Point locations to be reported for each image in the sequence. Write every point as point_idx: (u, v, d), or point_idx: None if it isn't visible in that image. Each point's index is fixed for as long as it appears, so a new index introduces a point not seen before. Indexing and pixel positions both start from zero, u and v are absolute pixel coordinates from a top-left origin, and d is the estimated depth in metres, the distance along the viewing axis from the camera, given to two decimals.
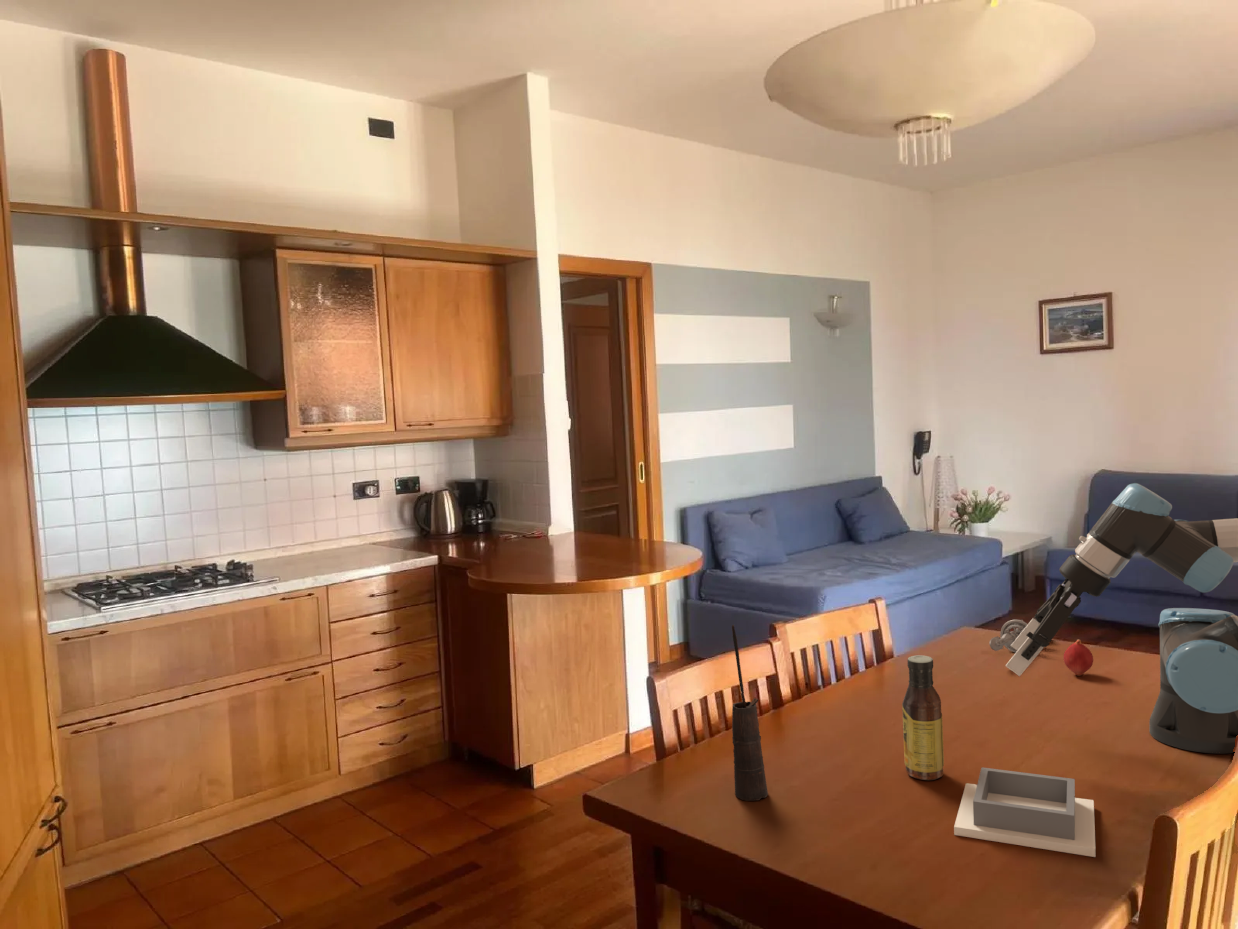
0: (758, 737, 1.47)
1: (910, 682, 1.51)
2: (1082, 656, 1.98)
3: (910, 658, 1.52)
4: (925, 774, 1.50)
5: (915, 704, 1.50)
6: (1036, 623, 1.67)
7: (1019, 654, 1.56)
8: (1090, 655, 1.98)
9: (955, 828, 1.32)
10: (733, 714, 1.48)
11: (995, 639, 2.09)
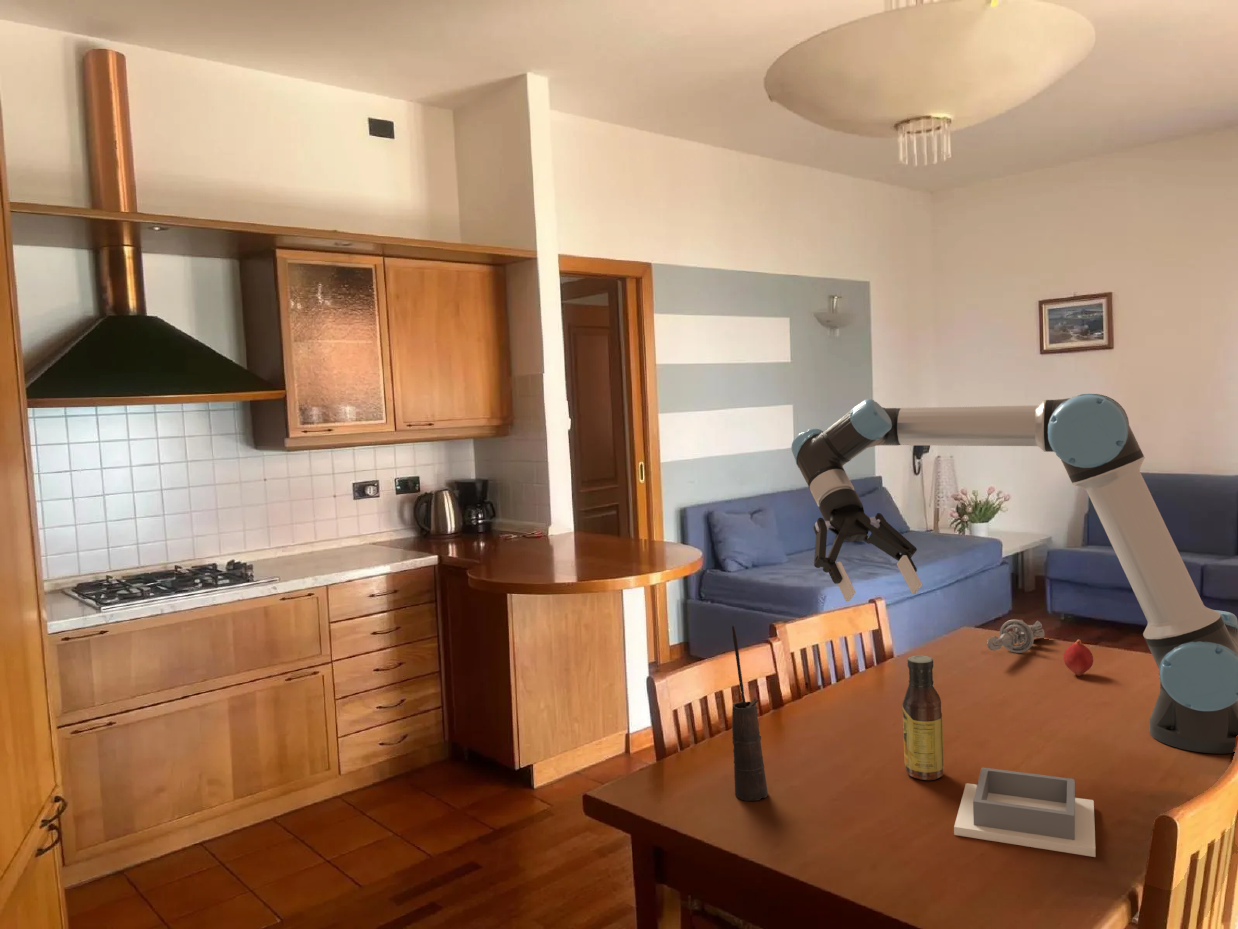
0: (758, 737, 1.47)
1: (910, 682, 1.51)
2: (1082, 656, 1.98)
3: (910, 658, 1.52)
4: (925, 774, 1.50)
5: (915, 704, 1.50)
6: (899, 562, 1.67)
7: (840, 585, 1.61)
8: (1090, 655, 1.98)
9: (955, 828, 1.32)
10: (733, 714, 1.48)
11: (993, 639, 2.09)
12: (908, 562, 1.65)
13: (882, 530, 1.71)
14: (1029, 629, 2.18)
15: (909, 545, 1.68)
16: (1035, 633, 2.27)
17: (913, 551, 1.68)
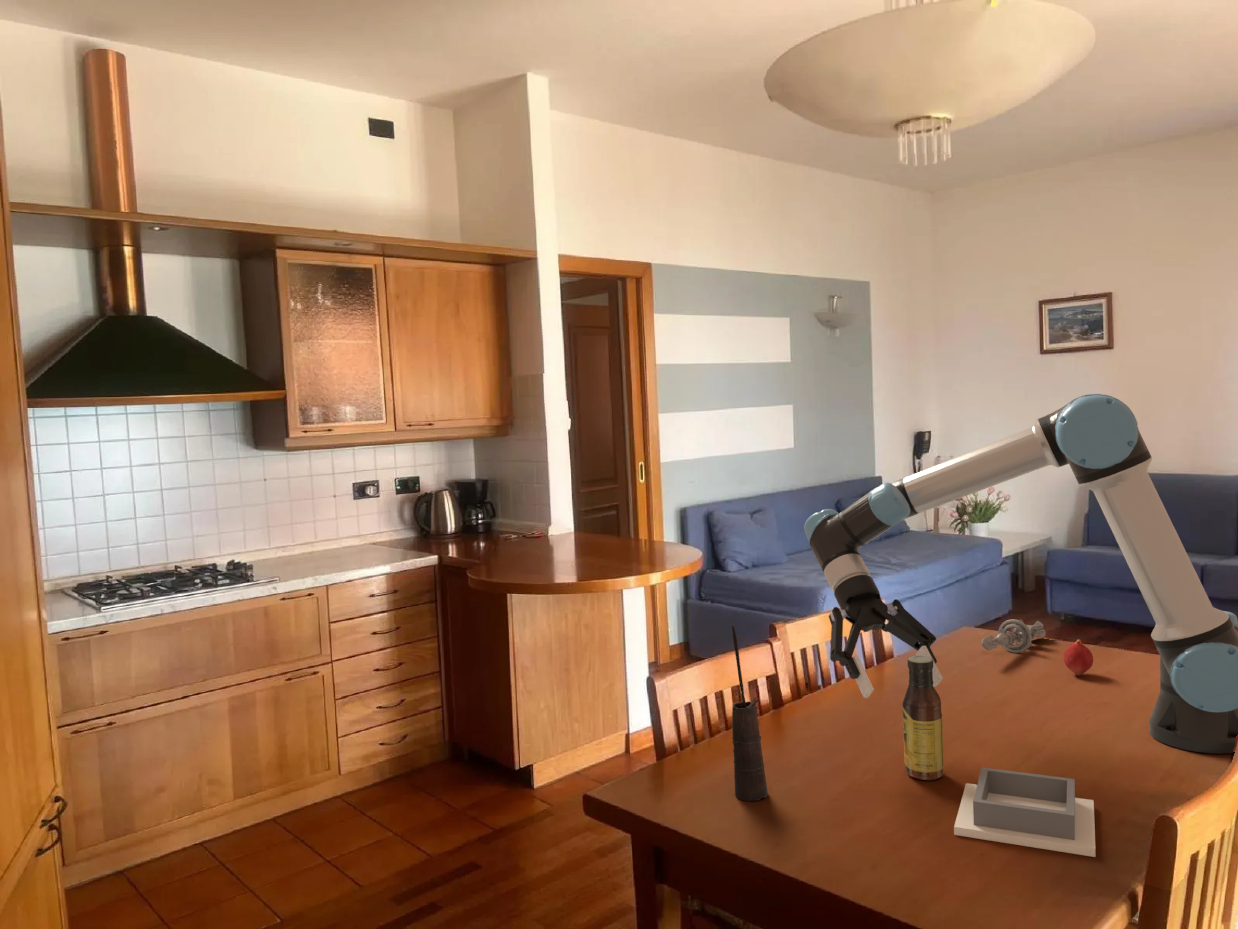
0: (758, 737, 1.47)
1: (910, 682, 1.51)
2: (1082, 656, 1.98)
3: (910, 658, 1.52)
4: (925, 774, 1.50)
5: (915, 704, 1.50)
6: (918, 652, 1.62)
7: (857, 680, 1.56)
8: (1090, 655, 1.98)
9: (955, 828, 1.32)
10: (733, 714, 1.48)
11: (988, 638, 2.10)
12: (927, 653, 1.60)
13: (900, 617, 1.66)
14: (1027, 629, 2.18)
15: (928, 634, 1.63)
16: (1035, 633, 2.27)
17: (932, 640, 1.62)
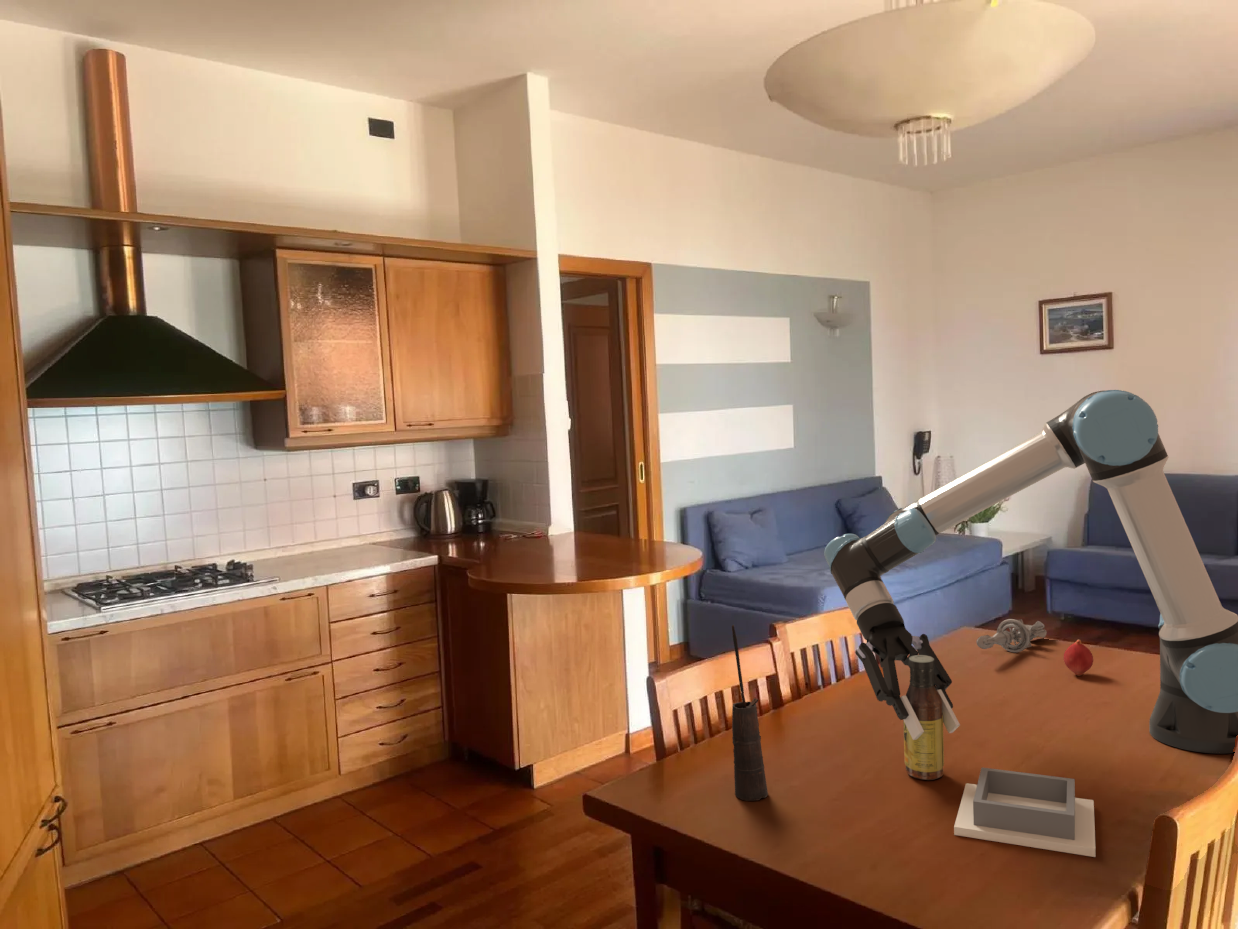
0: (758, 737, 1.47)
1: (911, 682, 1.51)
2: (1082, 656, 1.98)
3: (911, 658, 1.52)
4: (925, 774, 1.50)
5: (915, 704, 1.50)
6: None
7: (905, 721, 1.50)
8: (1090, 655, 1.98)
9: (955, 828, 1.32)
10: (733, 714, 1.48)
11: (983, 637, 2.11)
12: (943, 698, 1.52)
13: (922, 652, 1.59)
14: (1025, 629, 2.18)
15: (945, 675, 1.56)
16: (1035, 633, 2.27)
17: (947, 683, 1.55)
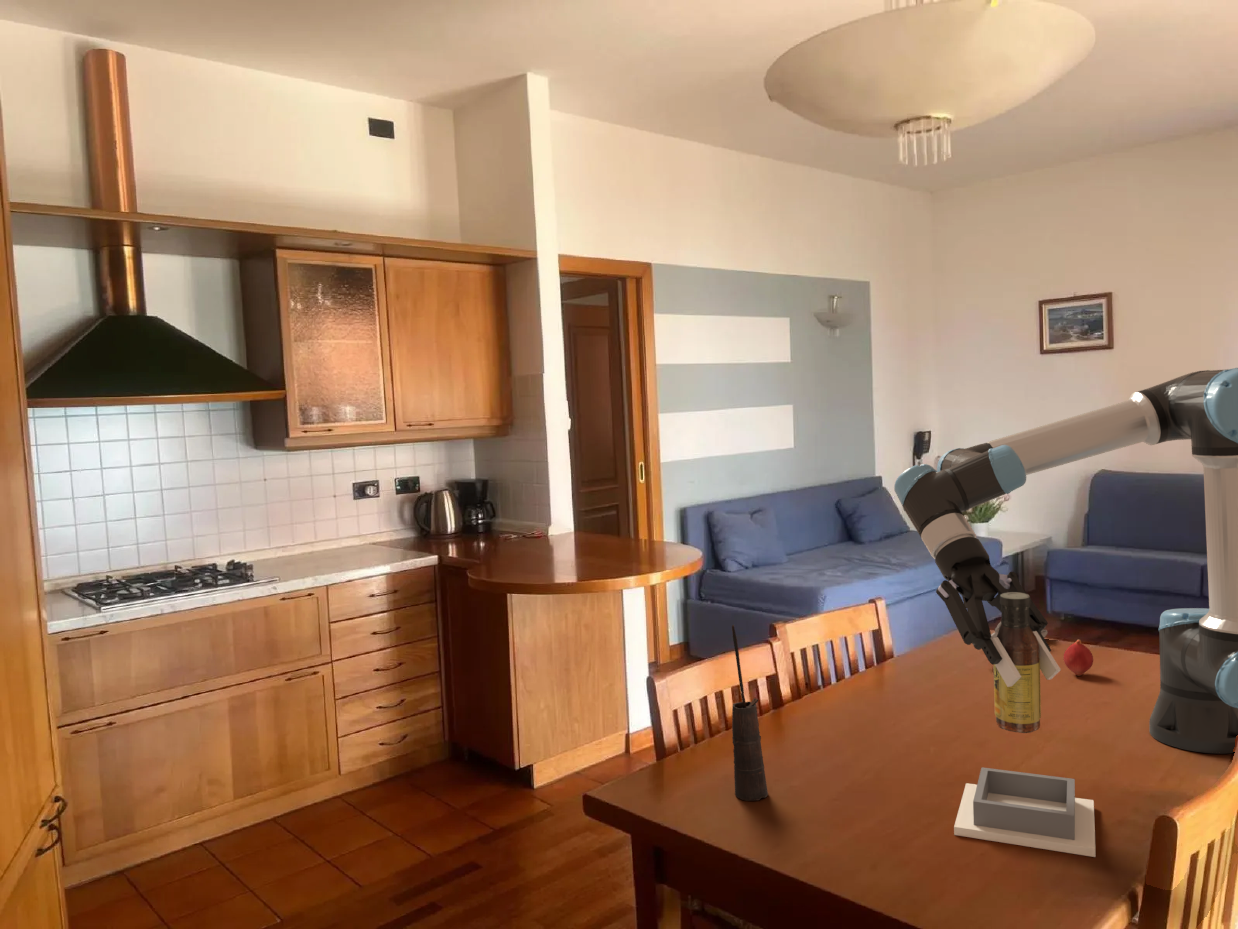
0: (758, 737, 1.47)
1: (1003, 622, 1.33)
2: (1082, 656, 1.98)
3: (1003, 595, 1.34)
4: (1020, 726, 1.32)
5: (1009, 646, 1.32)
6: None
7: (998, 666, 1.32)
8: (1090, 655, 1.98)
9: (955, 828, 1.32)
10: (733, 714, 1.48)
11: None
12: (1040, 640, 1.34)
13: None
14: None
15: (1039, 616, 1.37)
16: None
17: (1042, 625, 1.37)
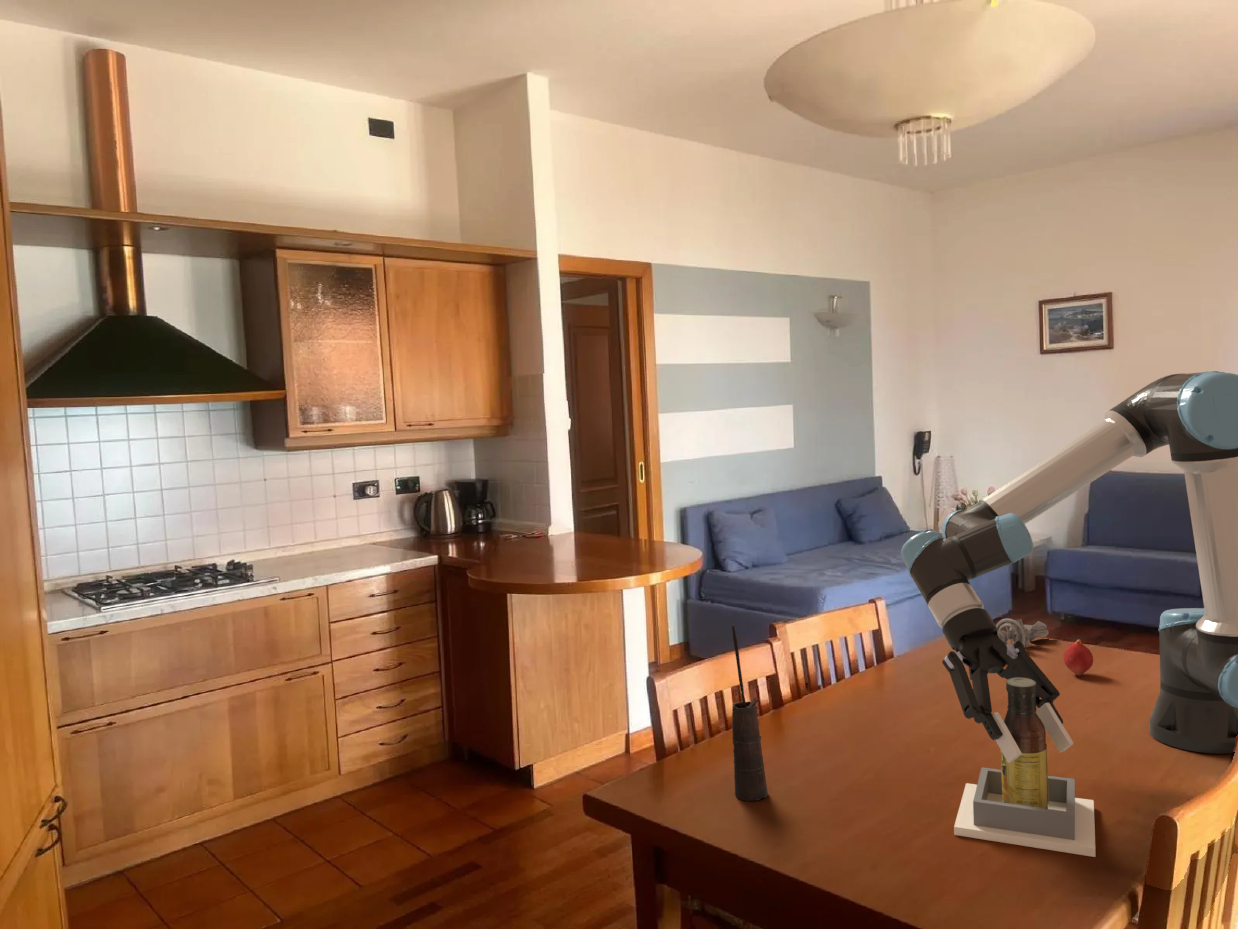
0: (758, 737, 1.47)
1: (1010, 708, 1.33)
2: (1082, 656, 1.98)
3: (1009, 681, 1.34)
4: None
5: (1017, 734, 1.32)
6: (1039, 710, 1.37)
7: (998, 741, 1.32)
8: (1090, 655, 1.98)
9: (955, 828, 1.32)
10: (733, 714, 1.48)
11: None
12: (1052, 712, 1.35)
13: (1020, 662, 1.42)
14: (1021, 628, 2.19)
15: (1051, 687, 1.38)
16: (1035, 633, 2.27)
17: (1055, 696, 1.37)
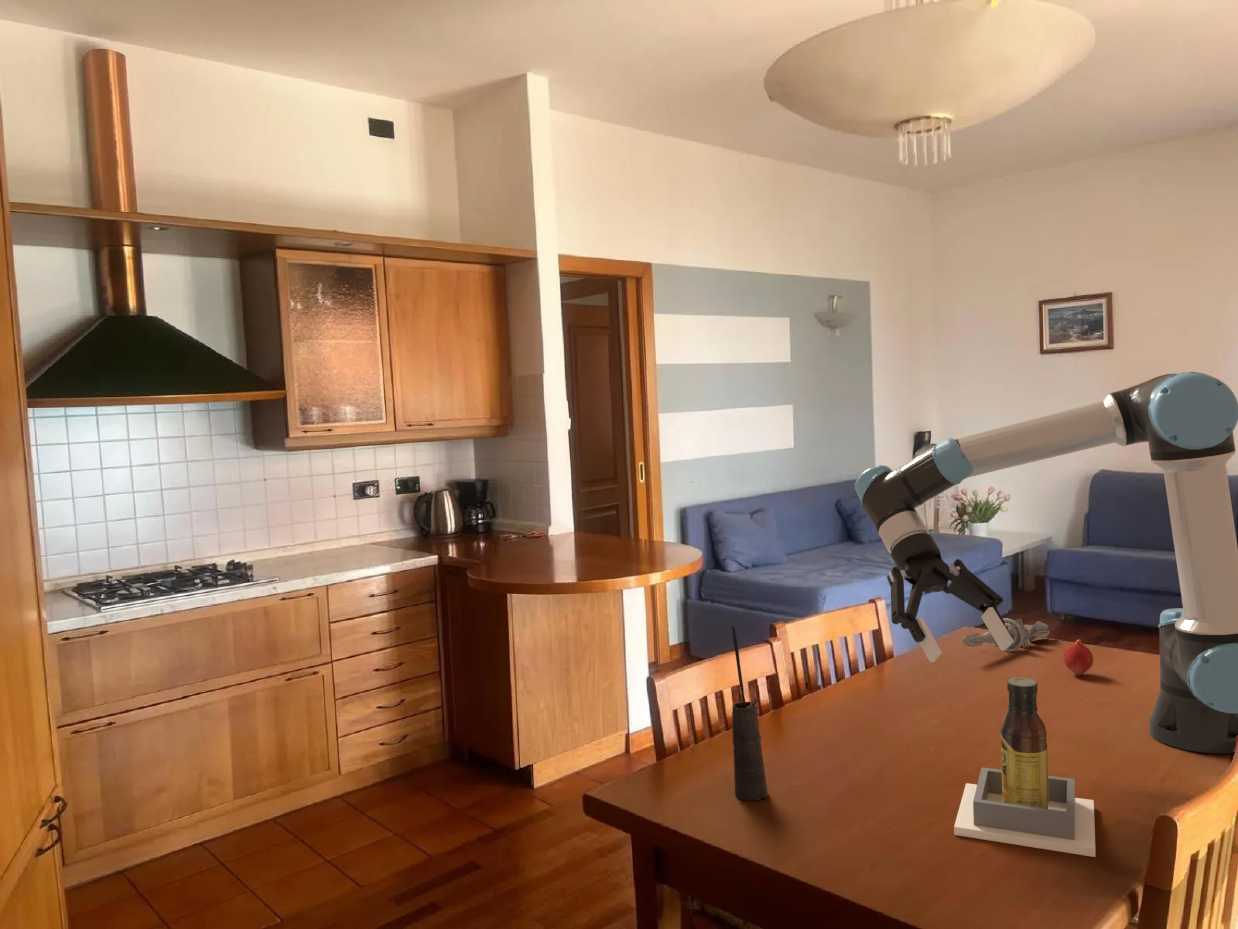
0: (758, 737, 1.47)
1: (1011, 708, 1.33)
2: (1082, 656, 1.98)
3: (1010, 681, 1.34)
4: None
5: (1017, 733, 1.32)
6: (984, 615, 1.50)
7: (922, 643, 1.44)
8: (1090, 655, 1.98)
9: (955, 828, 1.32)
10: (733, 714, 1.48)
11: (971, 635, 2.13)
12: (995, 615, 1.48)
13: (962, 578, 1.54)
14: (1019, 628, 2.19)
15: (994, 595, 1.51)
16: (1035, 633, 2.27)
17: (999, 602, 1.51)
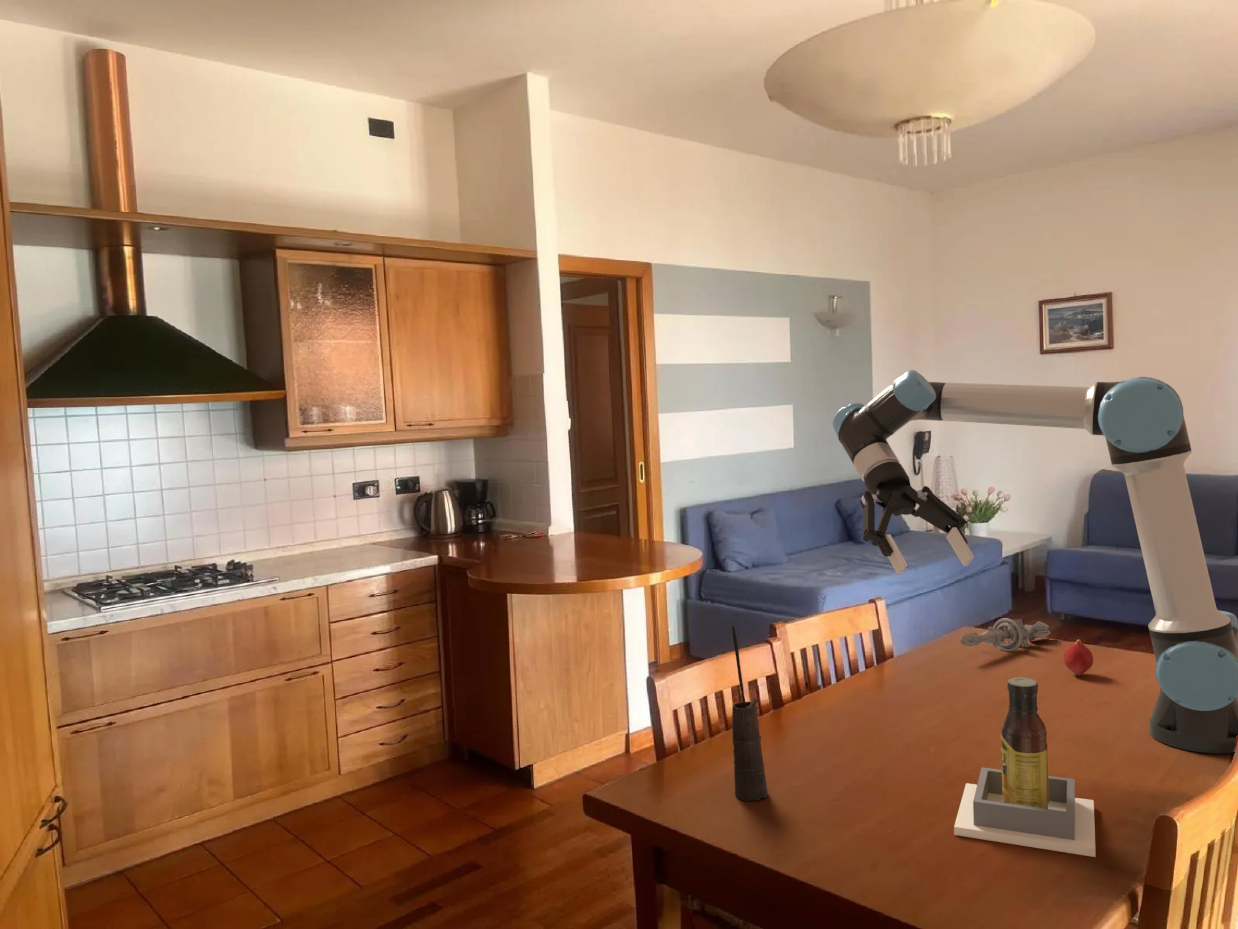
0: (758, 737, 1.47)
1: (1011, 708, 1.33)
2: (1082, 656, 1.98)
3: (1011, 681, 1.34)
4: None
5: (1017, 734, 1.32)
6: (949, 535, 1.64)
7: (890, 558, 1.58)
8: (1090, 655, 1.98)
9: (955, 828, 1.32)
10: (733, 714, 1.48)
11: (969, 635, 2.14)
12: (958, 534, 1.62)
13: (930, 503, 1.68)
14: (1018, 628, 2.19)
15: (958, 517, 1.65)
16: (1035, 633, 2.27)
17: (962, 523, 1.64)
